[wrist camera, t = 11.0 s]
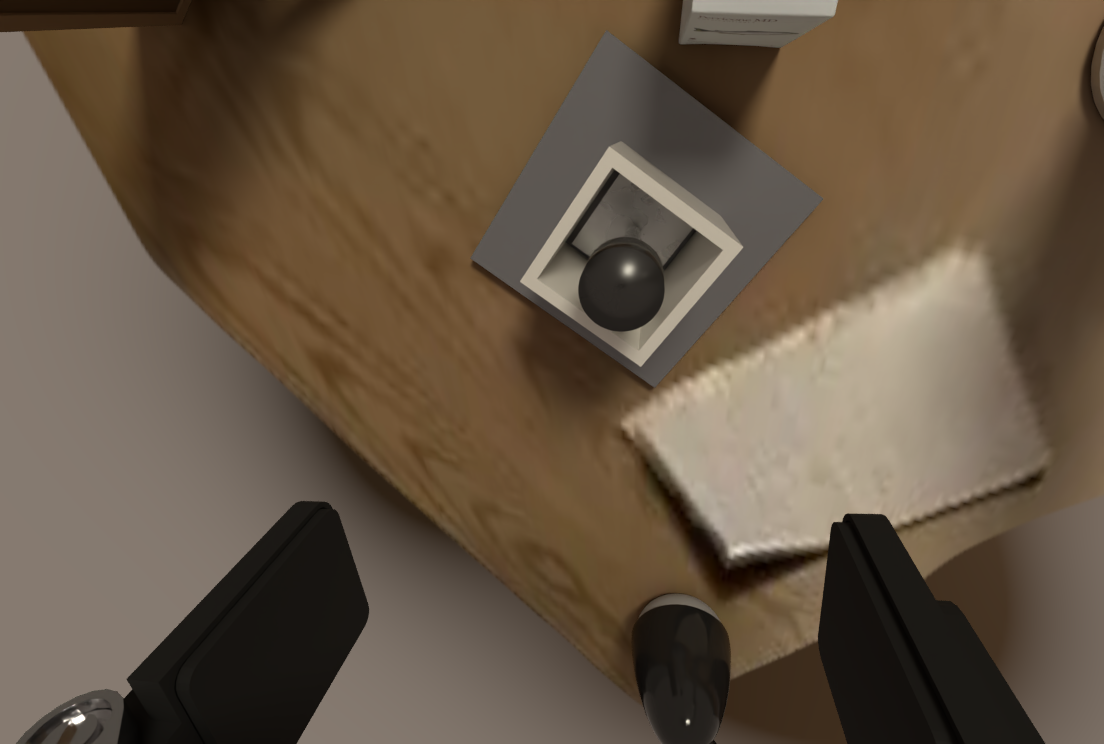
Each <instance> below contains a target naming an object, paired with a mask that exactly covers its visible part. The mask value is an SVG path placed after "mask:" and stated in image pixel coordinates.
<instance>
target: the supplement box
mask: <svg viewBox="0 0 1104 744" xmlns="http://www.w3.org/2000/svg"><path fill="white" fill-rule="evenodd" d="M837 2H838V0H683V6H682V15H681V24H680V33H679V44H724V45H747V46H764V47H776V48H781V47H783V46H784V45H786V44H788V43H790V42H792V41H793V40H795V39H797V38H798V37H800V36H802V35H803V34H805V33H807V32H809V31H810V30H812V29H813V28H815V27H817V26H818V25H820V24H822V23H823V22H825V21H827V20H828V19H830V18H832V17H833V16H834V15H835V11H836V6H837Z"/></svg>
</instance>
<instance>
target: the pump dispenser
mask: <svg viewBox="0 0 1104 744" xmlns="http://www.w3.org/2000/svg"><path fill="white" fill-rule="evenodd" d="M631 643H632V656H633V664H634V671H635V677H636V681H637V686H638V690H639V693H640V697H641V700H642V704H643V707H644V710H645V713H646V716H647V718H648V721H649V723H650V725H651V727H652V729H653V731H654V733H655V735H656V736H657V738H658V740H659V741H660V742H661V744H716V742H715V741H714V738H715V737H716V735H717V733H718V730H719V727H720V724H721V722H722V718H723V715H724V711H725V707H726V703H727V697H728V692H729V684H730V670H731V649H730V641H729V636H728V633H727V631H726V629H725V627H724V626H723V625H722V623H721V622H720V620H719V618H718V617H717V615H716V614H715V613H714V611H713V610H712V609H711V608H710V607H709V606H708V605H707V604H705V603H704V602H702V601H701V600H699V599H697V598H695V597H692V596H689V595H685V594H667V595H663V596H660V597H658V598H656V599H654V600H653V601H651V602H650V603H649V604H648V605H647V606H646V607H645V608H644V609H643V611H642V612H641V614H640V616H639V618H638V620H637V621H636V623H635V624H634V627H633V630H632V642H631Z"/></svg>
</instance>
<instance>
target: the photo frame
mask: <svg viewBox="0 0 1104 744" xmlns="http://www.w3.org/2000/svg"><path fill="white" fill-rule="evenodd" d="M191 1H192V0H0V32H15V31H41V30H65V29H90V28H115V27H140V26H165V25H181V24H182V22H183V19H184V17H185V15H186V12H187V10H188V8H189V5H190V3H191Z"/></svg>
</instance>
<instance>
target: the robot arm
mask: <svg viewBox="0 0 1104 744" xmlns="http://www.w3.org/2000/svg"><path fill="white" fill-rule="evenodd" d="M1091 88H1092V93H1093V98H1094V102H1095V104H1096V106H1097V109H1098V111H1099V113H1100V115H1101V117H1102V118H1103V119H1104V27H1103V29H1102V31H1101V34H1100V36H1099V38H1098V41H1097V43H1096V47H1095V52H1094V56H1093V60H1092V64H1091ZM368 615H369V606H368V602H367V599H366V596H365V593H364V590H363V587H362V584H361V581H360V578H359V575H358V571H357V568H356V565H355V563H354V560H353V556H352V553H351V550H350V547H349V544H348V541H347V538H346V535H345V532H344V529H343V526H342V523H341V520H340V517H339V514H338V512H337V511H336V510H333V509H332V507H331V505H329V503H327V502H312V501H300V502H297V503H295V504H294V505H293V506H292V507H291V508H290V509H289V510H288V511H287V512H286V513H285V514H284V515H283V516H282V517H281V518H280V519H279V520H278V521H277V522H276V523H275V525H274V526H273V527H272V528H271V529H270V530H269V531H268V532H267V533H266V534H265V535H264V536H263V537H262V538H261V539H260V540H259V541H258V542H257V543H256V545H254V546H253V548H252V549H251V550H250V551H249V552H248V553H247V554H246V555H245V556H244V557H243V558H242V559H241V560H240V561H239V562H238V563H237V564H236V565H235V566H234V567H233V568H232V570H231V571H230V572H229V573H228V574H227V575H226V576H225V577H224V578H223V579H222V580H221V581H220V582H219V583H218V584H217V585H216V586H215V587H214V588H213V589H212V590H211V592H210V593H209V594H208V595H207V596H206V597H205V598H204V599H203V600H202V601H201V602H200V603H199V604H198V605H197V606H196V607H195V608H194V609H193V610H192V611H191V612H190V613H189V614H188V615H187V617H186V618H185V619H184V620H183V621H182V622H181V623H180V624H179V625H178V626H177V627H176V628H175V629H174V630H173V631H172V632H171V633H170V634H169V635H168V636H167V637H166V639H164V641H163V642H162V643H161V644H160V645H159V646H158V647H157V648H156V649H155V650H154V651H153V652H152V653H151V654H150V655H149V656H148V658H146V659H145V660H144V661H143V662H142V664H141V665H140V666H139V667H138V668H137V669H136V670H135V671H134V672H133V673H132V674H131V675H130V676H129V677H128V679H127V681H128V682H129V684H130V686H131V687H132V691H131V692H130V693H129V694H128V695H127V696H126V697H125V698H123V697H122V696H121V695H120V694H119V693H118V692H117V691H112V690H108V689H105V690H98V691H92V692H89V693H86V694H83V695H80V696H77V697H75V698H73V699H71V700H70V701H67V702H66V703H64V704H62V705H60V706H58V707H57V708H56V709H54V710H52V711H51V712H50V713H48V714H47V715H45V716H44V717H42V718H41V719H40V720H39V721H38V722H36V723H35V724H34V725H33V726H32V727H31V728H30V729H29V730H28V731H26V732H25V733H24V735H23V736H22V737H21V738H20V739H19V741H18V742H17V743H16V744H297V742H298V740H299V738H300V737H301V735H302V733H303V731H304V730H305V728H306V726H307V725H308V723H309V721H310V719H311V718H312V716H313V714H314V713H315V711H316V709H317V707H318V706H319V704H320V702H321V700H322V699H323V697H324V695H325V694H326V692H327V690H328V688H329V687H330V685H331V683H332V682H333V680H334V678H335V676H336V675H337V673H338V671H339V670H340V668H341V666H342V665H343V663H344V661H345V659H346V658H347V656H348V654H349V652H350V651H351V649H352V647H353V646H354V644H355V642H356V640H357V639H358V637H359V635H360V634H361V632H362V630H363V628H364V627H365V625H366V622H367V619H368ZM818 644H819V651H820V656H821V660H822V663H823V666H824V669H825V673H826V676H827V679H828V682H829V686H830V689H831V692H832V695H833V699H834V702H835V705H836V708H837V712H838V714H839V718H840V721H841V724H842V728H843V731H844V734H845V737H846V740H847V743H848V744H1045V743H1044V741H1043V739H1042V738H1041V736H1040V735H1039V733H1038V731H1037V730H1036V728H1035V727H1034V725H1033V723H1032V722H1031V720H1030V719H1029V717H1028V716H1027V714H1026V712H1025V711H1024V709H1023V708H1022V706H1021V704H1020V703H1019V701H1018V700H1017V698H1016V697H1015V695H1014V693H1013V692H1012V690H1011V689H1010V687H1009V685H1008V684H1007V682H1006V681H1005V679H1004V677H1003V676H1002V674H1001V673H1000V671H999V670H998V668H997V666H996V665H995V663H994V662H993V660H992V658H991V657H990V655H989V654H988V652H987V650H986V649H985V647H984V646H983V644H982V642H981V641H980V639H979V638H978V637H977V635H976V633H975V631H974V630H973V628H972V627H971V625H970V623H969V622H968V620H967V619H966V617H965V615H964V614H963V613H962V612H961V610H960V609H959V608H958V607H957V606H956V605H955V604H953V603H952V602H951V601H937V600H935V598H934V596H933V594H932V593H931V591H930V589H929V588H928V586H927V585H926V583H925V581H924V579H923V578H922V576H921V574H920V572H919V571H918V569H917V567H916V566H915V564H914V562H913V561H912V559H911V557H910V555H909V554H908V552H907V550H906V549H905V547H904V545H903V544H902V542H901V540H900V539H899V537H898V535H897V533H896V532H895V530H894V528H893V527H892V525H891V523H890V522H889V520H888V519H887V517H886V516H884V515H882V514H845V516H844V518H843V522H834V523H833V524H832V527H831V533H830V541H829V550H828V558H827V566H826V574H825V583H824V591H823V599H822V607H821V616H820V624H819V632H818Z"/></svg>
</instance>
